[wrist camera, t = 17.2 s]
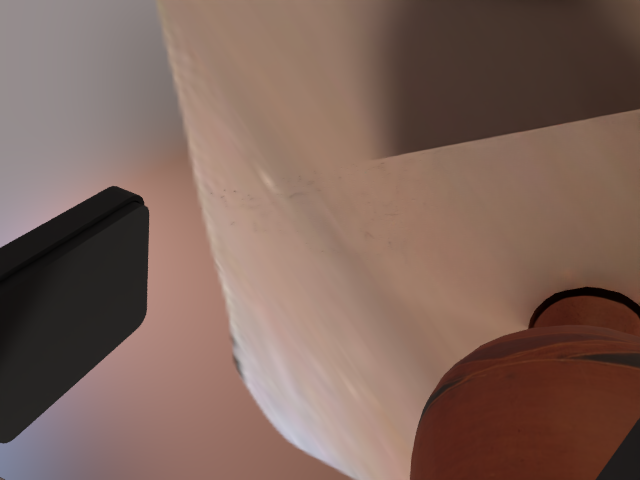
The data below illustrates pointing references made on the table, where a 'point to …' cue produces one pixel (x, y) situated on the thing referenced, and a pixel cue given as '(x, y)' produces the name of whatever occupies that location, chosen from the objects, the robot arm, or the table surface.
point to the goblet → (538, 396)
